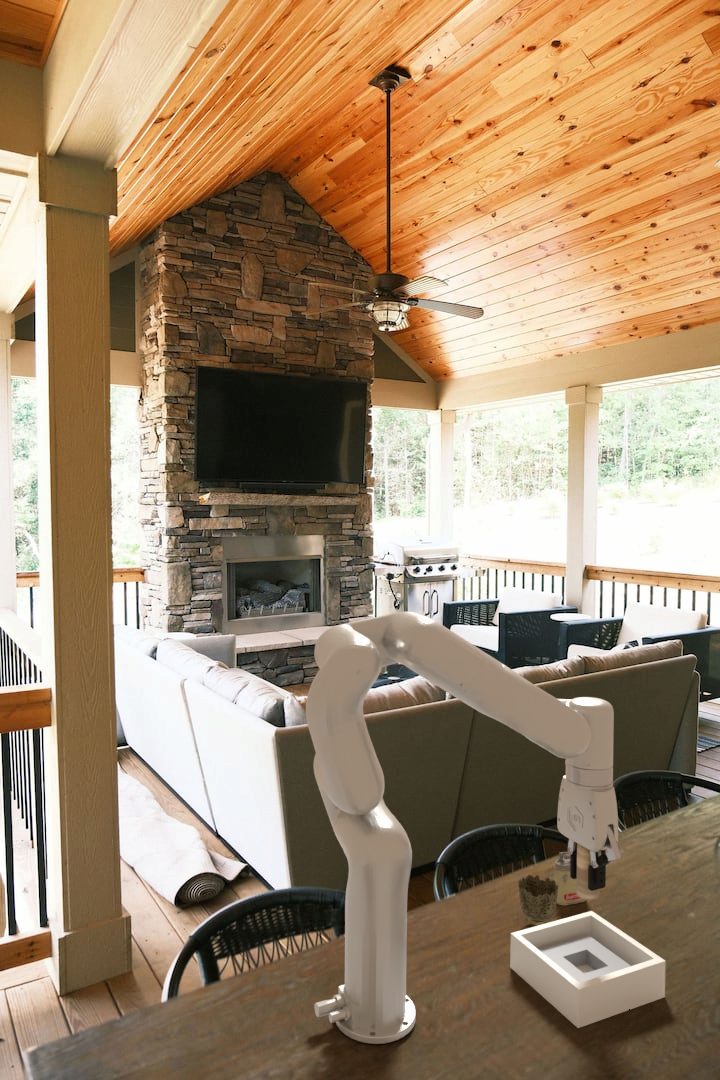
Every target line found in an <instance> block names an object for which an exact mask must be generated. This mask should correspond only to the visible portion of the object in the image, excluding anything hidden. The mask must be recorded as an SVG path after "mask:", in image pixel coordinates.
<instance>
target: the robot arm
mask: <svg viewBox="0 0 720 1080" xmlns="http://www.w3.org/2000/svg"><path fill="white" fill-rule="evenodd" d="M313 654H314V660H315V663H316V665H317V667H318V668H319V670H318V672H317V673H316V675H314V676H315V677H314V678H313V680H312V681H311V684H310V687H309V690H308V694H307V698H306V701H305V718H306V719H305V720H306V723H307V727H308V731H309V734H310V737H311V741H312V745H313V748H314V751H315V754H314V757H313V774H314V778H315V781H316V783H317V786H318V790H319V792H320V795H321V799H322V802H323V804H324V808H325V810H326V814H327V816H328V818H329V819H328V820H329V822H330V824H331V827H332V830H333V832H334V835H335V837H336V839H337V842H338V843H339V845H340V847H341V849H342V850H343V853H344V855H345V857H346V859H347V863H348V875H347V876H348V877H347V883H346V887H345V888H346V890H345V901H344V923H345V924H344V984H341V985H339V986H338V991H337V992H338V994H337V993H336V994H334V995H333V997H332V998H331V999H324V1000H321V1001H318V1002H314V1005H313V1007H314V1014H315V1016H316V1017H317V1018H320V1017H325V1016H327V1015H328V1020H329V1023H330V1024H333V1023H335V1024H336V1026H337V1028H338V1029H339V1030H340V1032H342V1033H343V1034H344V1035H345V1036H347V1037H348V1038H350V1039H352V1040H355V1041H357V1042H360V1043H364V1044H369V1045H370V1044H372V1045H381V1044H382V1045H383V1044H388V1043H392V1042H395V1041H398V1040H401V1039H402V1038H405V1036H406V1035H408V1034H409V1033H410V1032H412V1030H413V1028H414V1027H415V1024H416V1020H417V1019H416V1018H417V1016H416V1015H417V1011H416V1010H417V1009H416V1005H415V1004H414V1002H413V1000H411V998H410V997H409V996H408V995H407V951H408V950H407V943H408V942H407V938H408V935H407V934H408V933H407V932H408V929H407V928H408V912H407V911H408V893H409V892H408V890H409V889H408V888H409V883H410V877H411V870H412V861H413V850H412V845H411V842H410V839H409V837H408V833H407V832H406V830H405V829H404V826H403V825H402V824H401V822H399V820H398V818H396V816H395V815H394V814H393V813H392V812H391V810H390V809H389V808H388V806H387V805H386V803H385V800H384V797H383V796H384V793H385V785H386V784H385V776H384V772H383V769H382V767H381V763H380V762H379V759H378V756H377V753H376V750H375V747H374V745H373V742H372V739H371V737H370V733H369V730H368V726H367V723H366V720H365V715H364V714H365V713H364V703H365V699H366V697H367V695H368V693H369V691H370V690H371V688H372V687H373V686H374V684H375V683H376V681H377V680H378V678H379V676H380V673H381V670H382V668H384V667H388V666H391V665H395V664H399V663H400V664H402V665H403V666H404V667H406V668H407V669H409V670H410V671H412V672H414V673H415V674H416V675H419V676H420V677H421V678H423V679H425V680H426V681H429V682H430V683H432V684H433V685H435V686H437V687H438V688H440V689H441V690H443V691H444V692H446V693H447V694H449V695H451V696H453V697H454V698H456V699H457V700H458V701H460V702H462V703H464V704H466V705H467V706H469V707H470V708H472V709H474V710H476V711H477V712H479V713H480V714H483V715H485V716H487V717H489V718H491V719H493V720H495V721H497V722H500V723H501V724H503V725H505V726H507V727H509V728H510V729H512V730H514V731H515V732H517V733H519V734H521V736H524V737H525V738H526V739H528V740H529V741H530V742H532V743H534V744H535V745H537V746H539V747H541V748H542V749H544V750H546V751H548V752H549V753H550V754H552V755H554V756H556V757H557V758H561V759H565V760H564V763H565V775H563V776H562V779H561V783H560V786H559V788H560V789H559V794H558V803H557V815H556V816H557V819H556V820H557V821H556V822H557V826H556V827H557V830H558V832H559V833H560V834H561V835H563V836H564V840H565V842H566V844H567V852H569V853H570V854H571V857H570V877H571V878H572V879H577V844H579V845H581V846H583V847H584V848H586V849H588V850H590V856H591V865H590V866H589V867H588V889H589V890H591V891H594V890H598V889H599V890H600V889H604V888H605V887H606V883H607V880H606V878H607V877H606V876H607V874H606V871H607V866H608V865H610V863H611V862H612V861H615V860H619V859H621V858H622V856H621V855H622V854H621V852H620V849H619V847H618V841H619V816H618V803H617V796H616V791H615V787H614V729H615V727H614V722H615V721H614V719H615V717H614V716H615V715H614V714H615V712H614V708H613V705H612V704H611V702H609V701H607V700H605V699H603V698H598V697H594V696H593V697H592V696H581V697H580V696H579V697H574V698H571V699H568V698H567V699H566V698H556V697H555V696H553V695H552V694H550V693H548V692H547V691H545V690H544V689H542V688H540V687H539V686H537V685H535V684H534V683H532V682H531V681H529V680H528V679H526V678H525V677H523V676H522V675H520V674H519V673H517V672H516V671H514V670H513V669H512V668H510V667H508V666H507V665H506V664H504V663H502V662H501V661H499V660H498V659H496V658H495V657H493V656H491V655H490V654H488V653H486V652H485V651H483V650H482V649H480V648H479V647H477V646H476V645H474V644H472V643H471V642H470V641H468V640H467V639H465V638H463V637H462V636H460V635H459V634H457V633H455V632H454V631H452V630H451V629H449V628H447V627H446V626H445V625H444V624H441V623H440V622H438V621H436V620H435V619H433V618H430V617H429V616H426V615H422V614H419V613H417V612H413V611H400V612H393V613H389V614H384V615H379V616H376V617H371V618H365V619H360V620H356V621H350V622H346V623H341V624H337V625H335V626H332V627H330V628H328V629H326V630H324V632H322V634H320V635H319V637H318V639H317V641H316V642H315V645H314V653H313ZM598 851H600V856H599V857H598ZM569 853H568V854H569Z"/></svg>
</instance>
